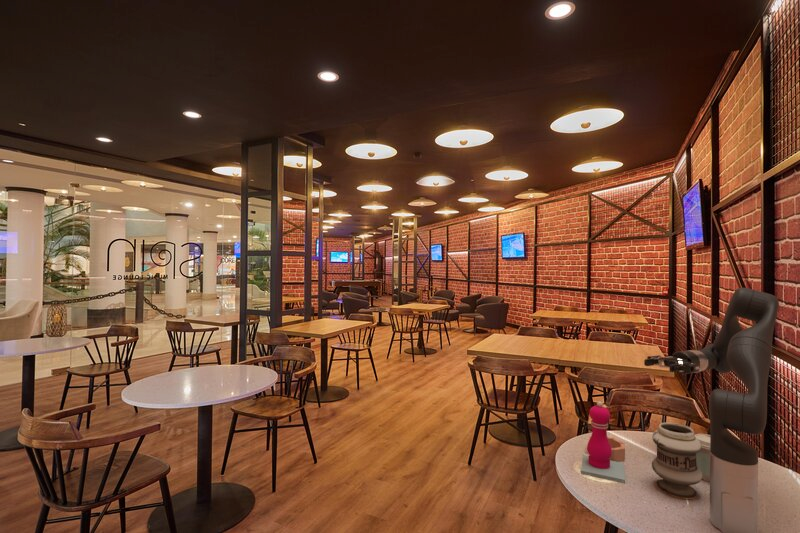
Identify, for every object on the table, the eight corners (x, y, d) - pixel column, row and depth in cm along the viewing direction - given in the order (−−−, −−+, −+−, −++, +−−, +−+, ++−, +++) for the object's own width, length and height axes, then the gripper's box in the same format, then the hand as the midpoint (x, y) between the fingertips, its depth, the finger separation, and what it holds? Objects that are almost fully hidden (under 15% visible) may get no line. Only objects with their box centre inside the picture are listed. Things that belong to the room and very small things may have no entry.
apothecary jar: (642, 484, 121) (643, 423, 121) (666, 475, 127) (667, 417, 127) (686, 505, 111) (687, 438, 111) (710, 495, 116) (711, 431, 116)
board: (625, 483, 122) (625, 479, 122) (580, 473, 127) (580, 470, 127) (623, 466, 133) (623, 463, 133) (582, 457, 138) (582, 455, 138)
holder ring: (625, 464, 134) (625, 452, 134) (587, 457, 139) (588, 445, 139) (624, 451, 144) (624, 439, 144) (589, 444, 149) (589, 433, 149)
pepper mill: (581, 461, 133) (582, 399, 133) (597, 457, 136) (598, 397, 136) (600, 471, 127) (601, 406, 127) (617, 467, 130) (617, 403, 130)
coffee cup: (732, 486, 121) (733, 445, 121) (700, 483, 123) (700, 442, 123) (716, 472, 129) (717, 434, 129) (686, 469, 131) (686, 431, 131)
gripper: (668, 347, 148) (637, 350, 142) (712, 354, 135) (679, 358, 129) (668, 367, 148) (637, 371, 142) (711, 377, 135) (679, 382, 129)
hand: (657, 365), depth 135 cm, fingers open, 8 cm apart
